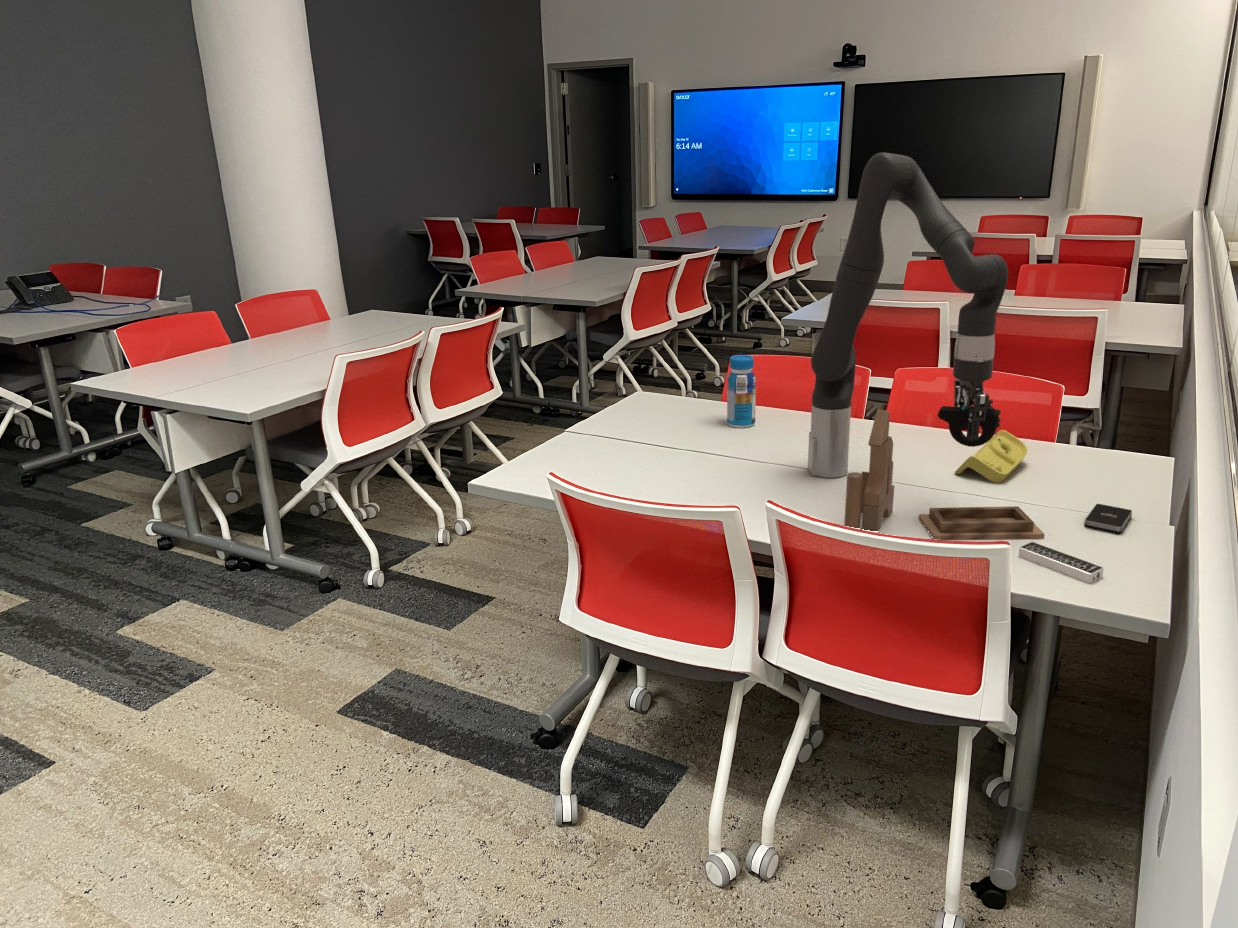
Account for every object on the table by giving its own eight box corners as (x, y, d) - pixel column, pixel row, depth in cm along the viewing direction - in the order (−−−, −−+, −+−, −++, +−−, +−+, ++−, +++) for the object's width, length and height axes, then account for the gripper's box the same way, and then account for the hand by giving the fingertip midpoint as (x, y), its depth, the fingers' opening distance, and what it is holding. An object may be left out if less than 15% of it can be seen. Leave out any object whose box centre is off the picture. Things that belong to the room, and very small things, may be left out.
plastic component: (1004, 476, 205) (967, 452, 209) (988, 499, 209) (951, 475, 213) (1033, 448, 218) (997, 425, 222) (1017, 470, 223) (983, 447, 227)
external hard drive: (1131, 518, 186) (1132, 510, 186) (1120, 537, 178) (1121, 527, 178) (1095, 511, 190) (1096, 503, 190) (1082, 529, 182) (1084, 520, 182)
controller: (997, 451, 182) (1001, 404, 179) (934, 445, 188) (937, 400, 184) (998, 444, 186) (1003, 398, 183) (937, 439, 191) (940, 394, 188)
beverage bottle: (720, 424, 258) (720, 357, 251) (739, 418, 263) (739, 352, 256) (743, 430, 252) (743, 362, 245) (761, 423, 257) (762, 356, 251)
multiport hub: (1030, 551, 174) (1032, 541, 173) (1102, 578, 162) (1104, 567, 161) (1017, 557, 171) (1018, 547, 171) (1089, 585, 160) (1091, 574, 159)
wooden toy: (862, 507, 197) (868, 399, 188) (892, 512, 194) (900, 402, 185) (842, 533, 184) (848, 418, 176) (874, 538, 181) (882, 422, 173)
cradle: (933, 540, 179) (934, 526, 178) (918, 518, 190) (919, 505, 189) (1043, 538, 178) (1045, 524, 177) (1023, 516, 188) (1024, 503, 187)
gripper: (944, 348, 187) (938, 425, 193) (967, 364, 174) (960, 445, 179) (980, 347, 187) (973, 423, 192) (1006, 362, 173) (998, 444, 179)
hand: (967, 433), depth 186 cm, fingers closed on controller, 5 cm apart
